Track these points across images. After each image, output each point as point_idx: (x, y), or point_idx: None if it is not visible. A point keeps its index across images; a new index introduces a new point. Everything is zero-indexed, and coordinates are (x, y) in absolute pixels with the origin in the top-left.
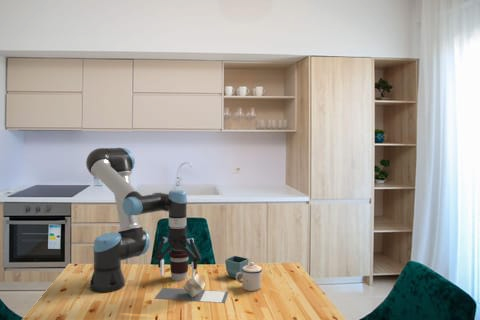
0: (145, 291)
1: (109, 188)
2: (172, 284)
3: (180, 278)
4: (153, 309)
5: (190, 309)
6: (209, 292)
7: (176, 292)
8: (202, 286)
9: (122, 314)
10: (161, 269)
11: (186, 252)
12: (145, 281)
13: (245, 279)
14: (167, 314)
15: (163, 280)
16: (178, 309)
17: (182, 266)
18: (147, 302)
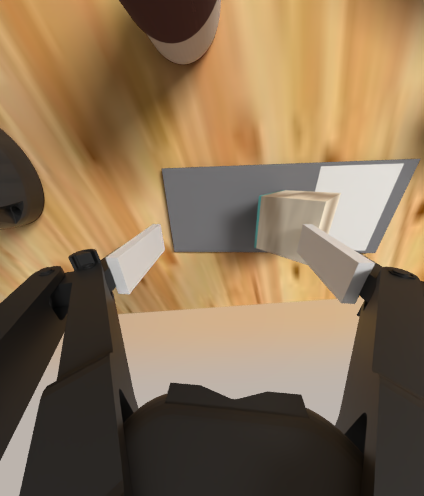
0: (122, 195)
1: None
2: (176, 102)
3: (197, 49)
4: (195, 288)
5: (276, 280)
6: (336, 182)
7: (220, 201)
8: (327, 233)
9: (149, 309)
10: (150, 264)
11: (350, 384)
12: (59, 91)
13: None
14: (231, 303)
15: (117, 53)
16: (248, 283)
17: None
18: (166, 260)
